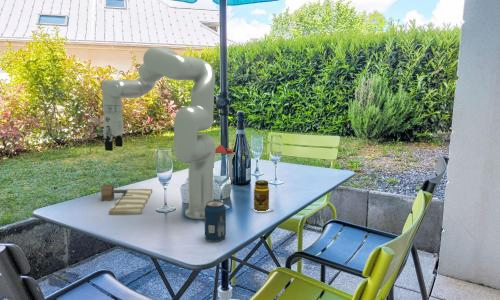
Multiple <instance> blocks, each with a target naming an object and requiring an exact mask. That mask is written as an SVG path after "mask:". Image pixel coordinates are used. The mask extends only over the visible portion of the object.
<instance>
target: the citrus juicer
mask: <svg viewBox="0 0 500 300" xmlns="http://www.w3.org/2000/svg"><path fill="white" fill-rule="evenodd" d="M226 149H227V151H226V150H225V147H224V146H223V145H222V144H219V145H218V146H216V151H215V153H227V152H228V153H227V154H229V177H230V180H231V182H232V183H233V181H232V168H233V165H232V159H233V157H234V155H235V156H236V152H233V151H232V150H234V149H232V148H226Z"/></svg>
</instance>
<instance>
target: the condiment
mask: <svg viewBox="0 0 500 300" xmlns="http://www.w3.org/2000/svg"><path fill="white" fill-rule="evenodd" d="M253 190H254V191H253V206H254V209H255V210H257V211H266V210H268V209H269V208H270V188H269V181H268V180H265V179H263V180H262V179H259V180H256V181H255V183H254V188H253Z"/></svg>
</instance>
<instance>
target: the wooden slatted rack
mask: <svg viewBox="0 0 500 300" xmlns="http://www.w3.org/2000/svg"><path fill="white" fill-rule="evenodd" d="M125 190H127V193H125V195H124V193H121V195H120V196H119V198H117V200H115V202H114V204H113V205H112V206H111V208H110V209H109V210H108V215H109V216H115V215H116V216H118V215H120V216H121V215H142V212H143V211H144V209H145V207H146V205H147V203H148V201H149V199H150V197H151V196H152V193H153V188H131V189H130V188H126V189H125Z"/></svg>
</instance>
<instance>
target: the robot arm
mask: <svg viewBox="0 0 500 300" xmlns="http://www.w3.org/2000/svg"><path fill="white" fill-rule="evenodd" d="M142 61H143V63H141V64H140V65H139V68H138V73H139V78H136V79H118V80H117V79H105V80H103V81H102V83H101V84H102V85H101V89H102V90H101V91H102V110H103V112H102V113H103V114H104V115H103V131H102V137H103V140H104V151H109V152H112V151H114V146H115V147H117V148H118V147H121V148H122V147H123V134H124V133H125V130H124V128H125V127H124V117H123V107H122V106H123V105H122V103H123V102H122V99H137V98H141V97H143V96H145V95H146V94H148V93H150V91H152V90H153V89H154V87H155V84H156V82H159V80H161V79H163V78H164V77H166V78H168V79H170V80H174V81H185V82H186V81H188V82H189V81H192V82H194V84H193V85H192V87H191V91H190V103H189V105H187V106H186V105H185V106H183V107H181V108H180V109H179V110H178V111H177V112H176V114H175V116H174V120H173V121H174V122H173V125H174V126H173V151H174V155H175V158H176V159H177V160H178V161H179V162H181V163H183V164H188V175H187V176H188V208H187V209H186V210H185V212H184V213H185V215H184V216H186V217H187V218H189V219H193V220H205V207H206V203H207V202H209V201H215V200H214V191H215V190H214V185H213V168H214V157H215V151H216V148H217V146H216V142H215V139H214V138H213V137H212V136H211V135H210V134H207V133H198V132H202V131H207V130H208V129H210V128H211V127H212V126H213V123H214V105H215V103H214V101H215V97H214V96H215V85H216V74H215V70H214V68H213V67H212V65H211V64H210V63H209V62H208V61H207V60H204V59H202V58H199V57H195V56H186V55H185V56H184V55H183V56H182V55H179V54H178V53H177V52H176V51H175V50H173V49H171V48H166V47H165V48H164V47H158V46H152V47H149V48H148V49H147V50H146V51H145V52H144V54H143V57H142ZM113 137H114V142H113ZM113 144H114V145H113Z"/></svg>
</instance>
